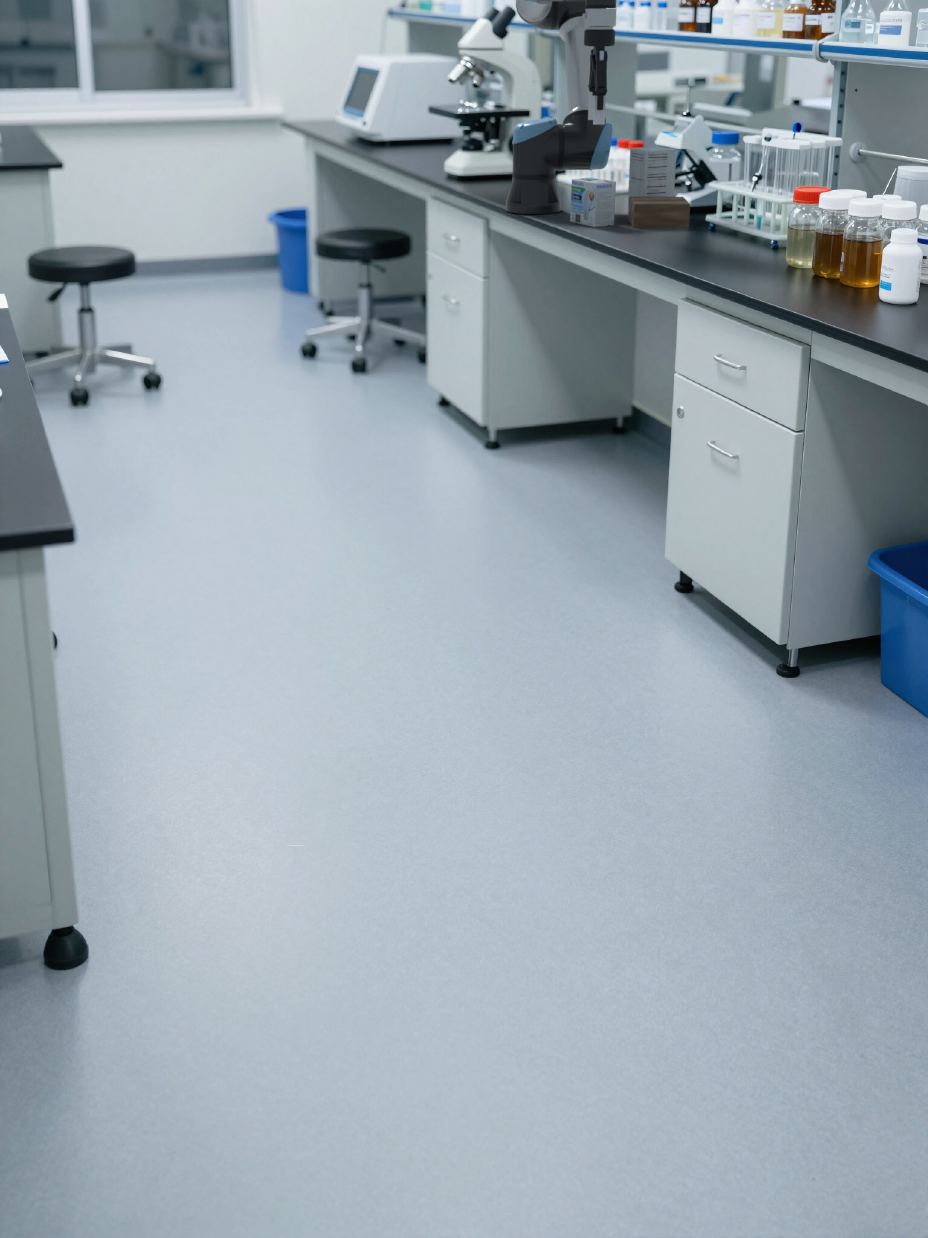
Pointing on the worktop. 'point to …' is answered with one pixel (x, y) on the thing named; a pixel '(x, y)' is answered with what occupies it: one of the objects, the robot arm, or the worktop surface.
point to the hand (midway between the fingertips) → (596, 121)
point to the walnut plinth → (659, 212)
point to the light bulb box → (593, 202)
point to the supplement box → (651, 172)
